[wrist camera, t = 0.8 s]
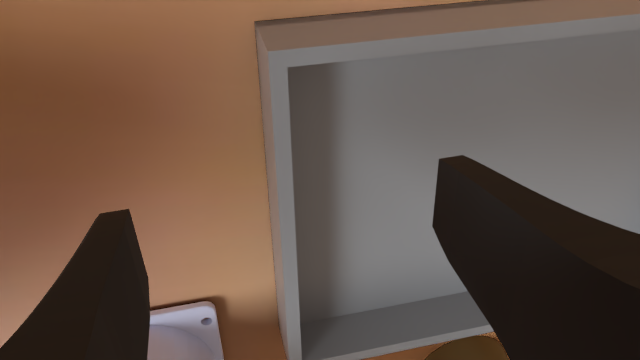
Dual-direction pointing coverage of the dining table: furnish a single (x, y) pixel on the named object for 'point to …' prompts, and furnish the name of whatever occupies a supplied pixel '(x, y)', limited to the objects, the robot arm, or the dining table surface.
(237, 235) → the dining table surface
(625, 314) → the robot arm
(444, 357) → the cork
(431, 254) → the box
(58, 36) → the dining table surface
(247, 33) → the dining table surface
